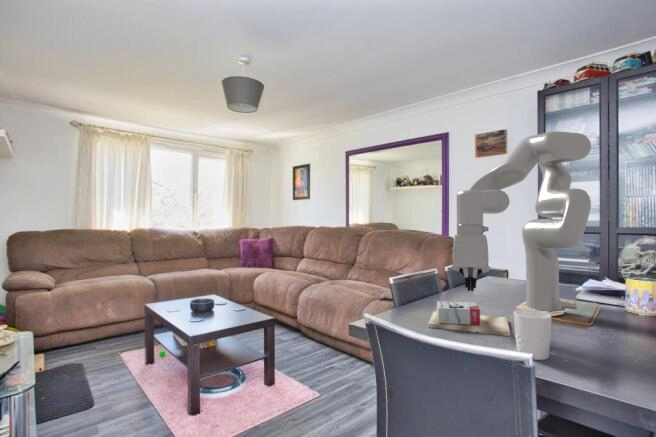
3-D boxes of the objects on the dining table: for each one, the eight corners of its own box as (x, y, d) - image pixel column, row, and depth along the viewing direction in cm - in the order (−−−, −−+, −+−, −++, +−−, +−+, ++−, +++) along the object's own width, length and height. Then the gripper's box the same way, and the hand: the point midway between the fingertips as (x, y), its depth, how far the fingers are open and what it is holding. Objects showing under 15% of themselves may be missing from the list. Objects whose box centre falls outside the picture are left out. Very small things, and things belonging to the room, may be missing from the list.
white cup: (508, 348, 87) (507, 309, 87) (539, 347, 87) (539, 308, 87) (524, 361, 80) (524, 318, 79) (559, 361, 79) (559, 318, 79)
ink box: (480, 309, 101) (438, 307, 103) (480, 326, 101) (438, 323, 104) (474, 302, 109) (436, 300, 112) (475, 317, 109) (436, 315, 112)
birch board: (506, 321, 108) (506, 317, 108) (510, 336, 96) (510, 331, 96) (433, 314, 117) (433, 310, 117) (428, 327, 104) (428, 323, 104)
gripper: (496, 230, 106) (497, 289, 106) (445, 229, 112) (446, 286, 112) (497, 231, 99) (498, 294, 99) (443, 231, 105) (444, 291, 105)
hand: (470, 290), depth 106 cm, fingers closed
